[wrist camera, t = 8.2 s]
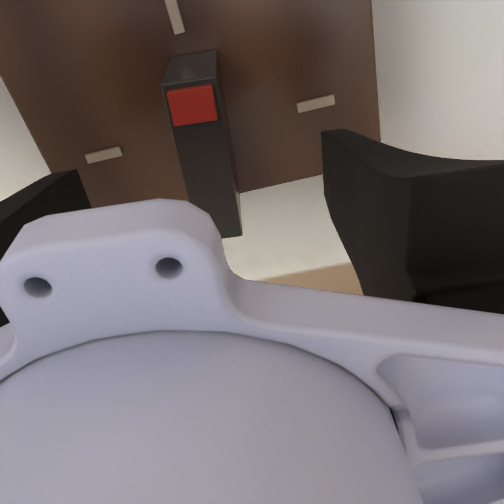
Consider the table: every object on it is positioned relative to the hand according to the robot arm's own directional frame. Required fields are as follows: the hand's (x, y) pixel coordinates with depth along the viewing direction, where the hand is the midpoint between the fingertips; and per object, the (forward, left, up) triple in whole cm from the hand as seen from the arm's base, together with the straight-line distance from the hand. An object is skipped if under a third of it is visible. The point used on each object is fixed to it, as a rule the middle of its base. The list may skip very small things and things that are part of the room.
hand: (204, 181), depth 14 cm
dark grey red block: (0, 0, -5) cm, 5 cm away
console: (-1, +1, -8) cm, 8 cm away
